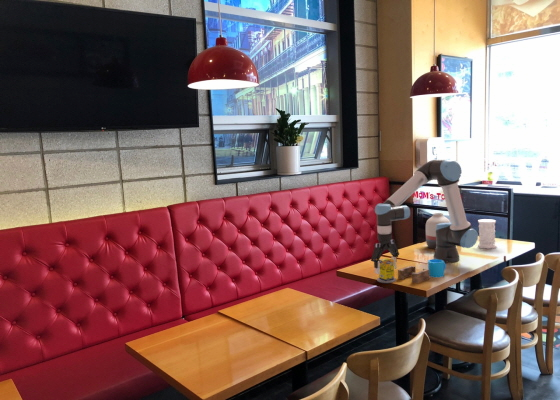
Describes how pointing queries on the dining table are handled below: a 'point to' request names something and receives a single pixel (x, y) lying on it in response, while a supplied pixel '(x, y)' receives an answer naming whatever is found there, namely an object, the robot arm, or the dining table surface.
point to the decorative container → (487, 233)
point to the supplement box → (386, 269)
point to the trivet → (386, 281)
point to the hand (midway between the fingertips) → (385, 271)
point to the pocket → (413, 274)
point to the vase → (434, 228)
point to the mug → (436, 267)
